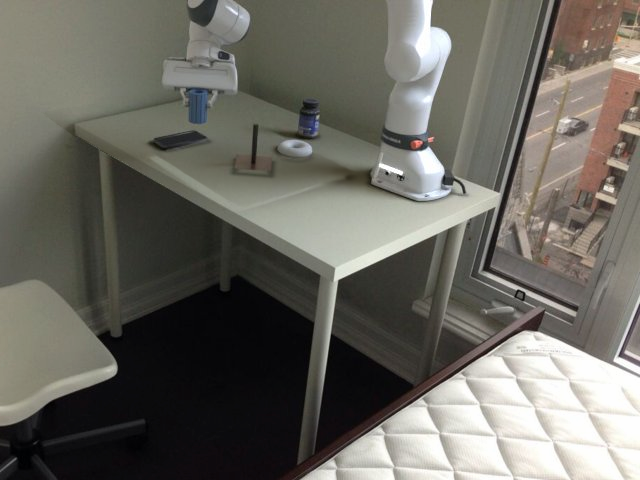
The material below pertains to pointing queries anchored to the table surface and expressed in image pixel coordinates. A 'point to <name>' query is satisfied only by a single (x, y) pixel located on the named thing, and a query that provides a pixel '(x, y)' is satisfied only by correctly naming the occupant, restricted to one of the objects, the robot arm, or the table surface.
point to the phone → (179, 140)
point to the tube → (197, 106)
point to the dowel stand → (253, 157)
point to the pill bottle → (309, 119)
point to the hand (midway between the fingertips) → (197, 106)
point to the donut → (294, 148)
